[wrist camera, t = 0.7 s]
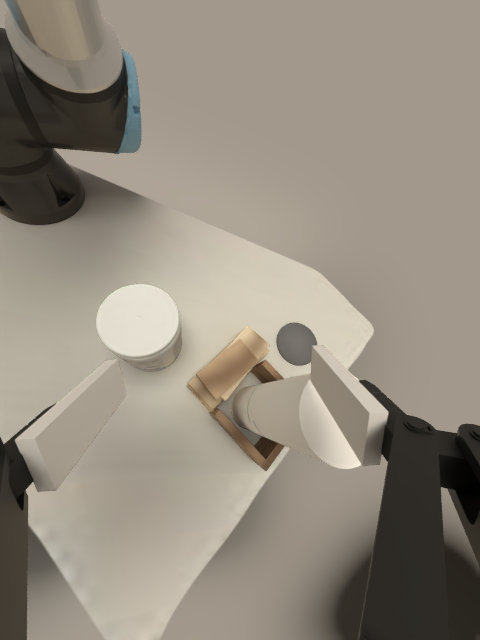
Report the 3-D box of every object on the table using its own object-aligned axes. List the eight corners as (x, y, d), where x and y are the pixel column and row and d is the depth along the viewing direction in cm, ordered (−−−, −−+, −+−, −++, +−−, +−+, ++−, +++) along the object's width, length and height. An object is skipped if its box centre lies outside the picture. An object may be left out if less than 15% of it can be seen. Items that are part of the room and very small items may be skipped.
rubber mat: (270, 329, 46) (271, 329, 46) (305, 318, 49) (306, 318, 49) (287, 371, 44) (288, 371, 44) (322, 357, 47) (324, 357, 47)
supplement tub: (155, 310, 42) (143, 267, 29) (192, 343, 42) (198, 316, 28) (111, 346, 38) (73, 317, 25) (151, 384, 38) (135, 375, 24)
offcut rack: (184, 385, 39) (185, 382, 32) (243, 330, 45) (254, 318, 39) (251, 459, 37) (266, 471, 31) (303, 392, 44) (324, 390, 37)
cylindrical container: (245, 438, 38) (340, 493, 16) (223, 402, 39) (281, 403, 17) (276, 412, 41) (395, 426, 18) (254, 379, 42) (341, 353, 19)
